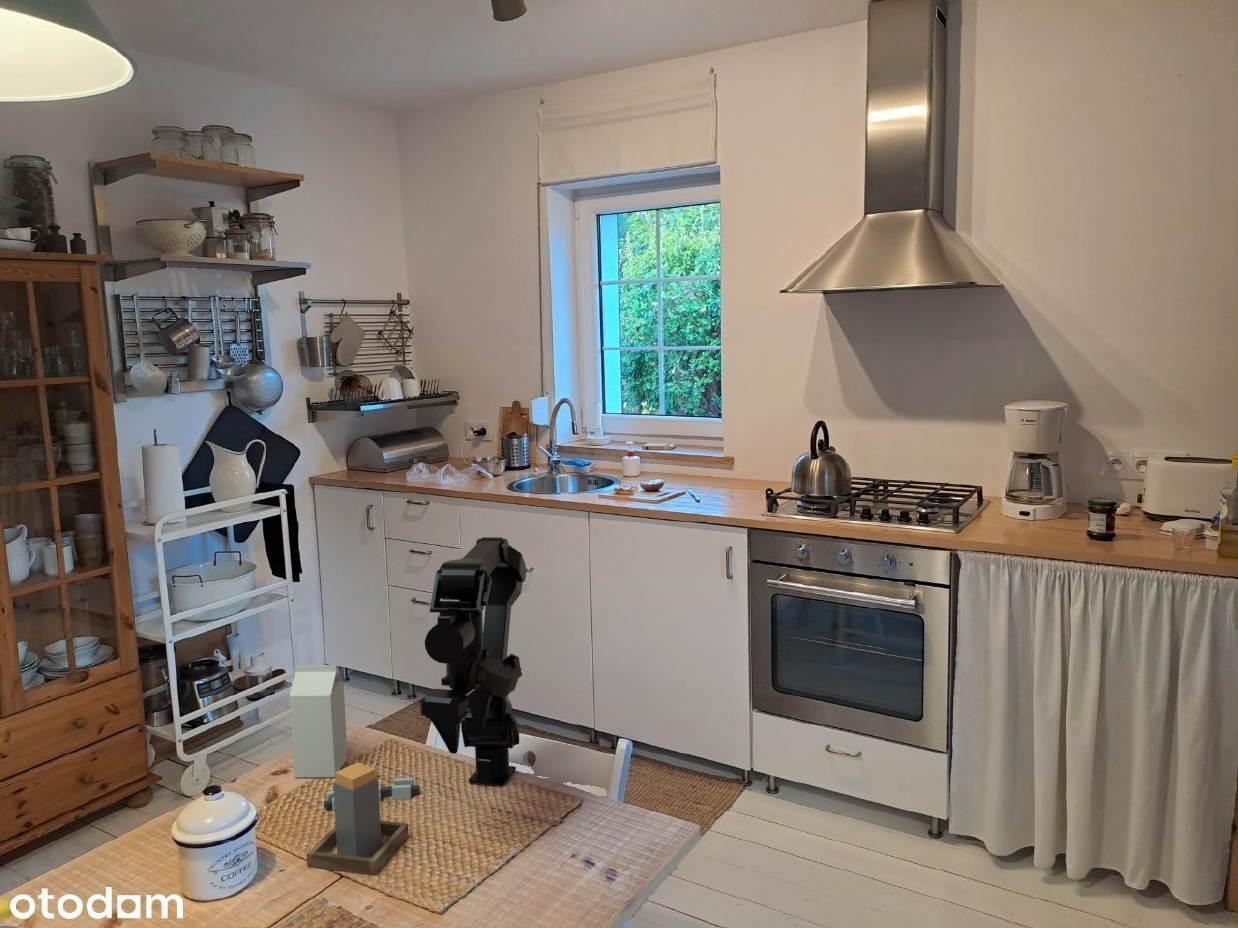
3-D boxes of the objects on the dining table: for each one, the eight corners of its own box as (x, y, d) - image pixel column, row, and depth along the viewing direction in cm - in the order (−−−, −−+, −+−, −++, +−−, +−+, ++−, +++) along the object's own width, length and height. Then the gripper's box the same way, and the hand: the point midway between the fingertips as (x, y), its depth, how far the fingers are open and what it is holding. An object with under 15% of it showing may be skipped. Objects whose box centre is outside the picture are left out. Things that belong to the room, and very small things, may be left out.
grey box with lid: (362, 839, 136) (357, 761, 134) (381, 848, 133) (377, 768, 132) (337, 853, 132) (332, 772, 131) (356, 863, 130) (352, 780, 128)
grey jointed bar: (323, 801, 148) (323, 789, 147) (417, 784, 153) (416, 773, 153) (324, 814, 144) (324, 802, 143) (421, 796, 149) (420, 785, 148)
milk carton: (335, 778, 156) (329, 672, 153) (294, 778, 156) (287, 673, 154) (348, 759, 163) (342, 658, 161) (309, 759, 163) (302, 659, 161)
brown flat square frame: (345, 828, 139) (344, 816, 139) (408, 835, 137) (408, 823, 136) (307, 866, 129) (306, 853, 129) (375, 875, 126) (374, 861, 126)
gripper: (487, 665, 127) (489, 772, 128) (535, 630, 145) (537, 723, 146) (416, 659, 130) (419, 763, 131) (472, 625, 148) (474, 717, 149)
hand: (467, 741), depth 140 cm, fingers open, 9 cm apart
